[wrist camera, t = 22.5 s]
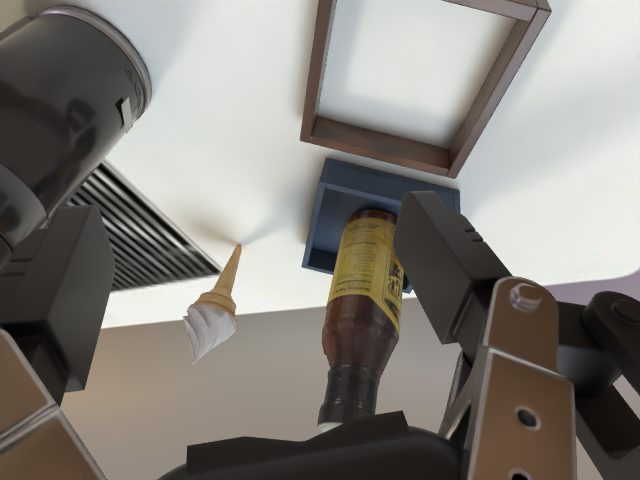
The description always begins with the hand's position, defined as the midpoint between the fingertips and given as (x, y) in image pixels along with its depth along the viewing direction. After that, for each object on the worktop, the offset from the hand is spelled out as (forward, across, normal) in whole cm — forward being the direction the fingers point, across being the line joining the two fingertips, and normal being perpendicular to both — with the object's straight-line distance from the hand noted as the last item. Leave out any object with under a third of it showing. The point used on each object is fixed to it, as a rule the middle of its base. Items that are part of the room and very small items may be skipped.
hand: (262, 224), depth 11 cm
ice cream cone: (+29, 0, +25) cm, 38 cm away
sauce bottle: (+21, -13, +17) cm, 30 cm away
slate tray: (+22, -13, +17) cm, 31 cm away
